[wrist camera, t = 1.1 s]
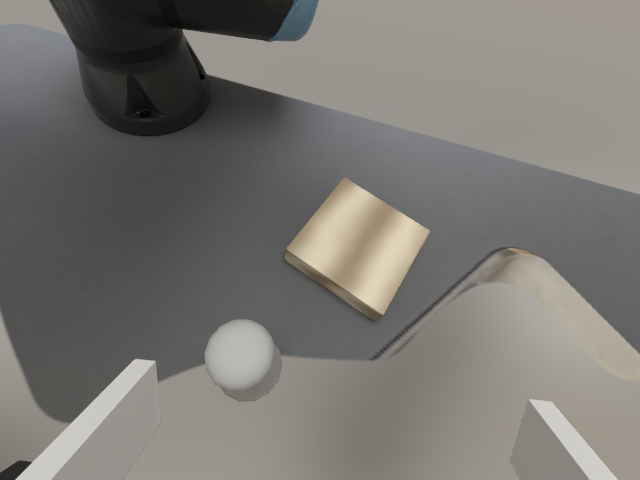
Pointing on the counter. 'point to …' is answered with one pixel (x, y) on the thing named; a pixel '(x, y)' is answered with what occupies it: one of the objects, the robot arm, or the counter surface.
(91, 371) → the counter surface
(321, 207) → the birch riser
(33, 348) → the counter surface
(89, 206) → the counter surface
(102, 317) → the counter surface
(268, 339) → the salt shaker
